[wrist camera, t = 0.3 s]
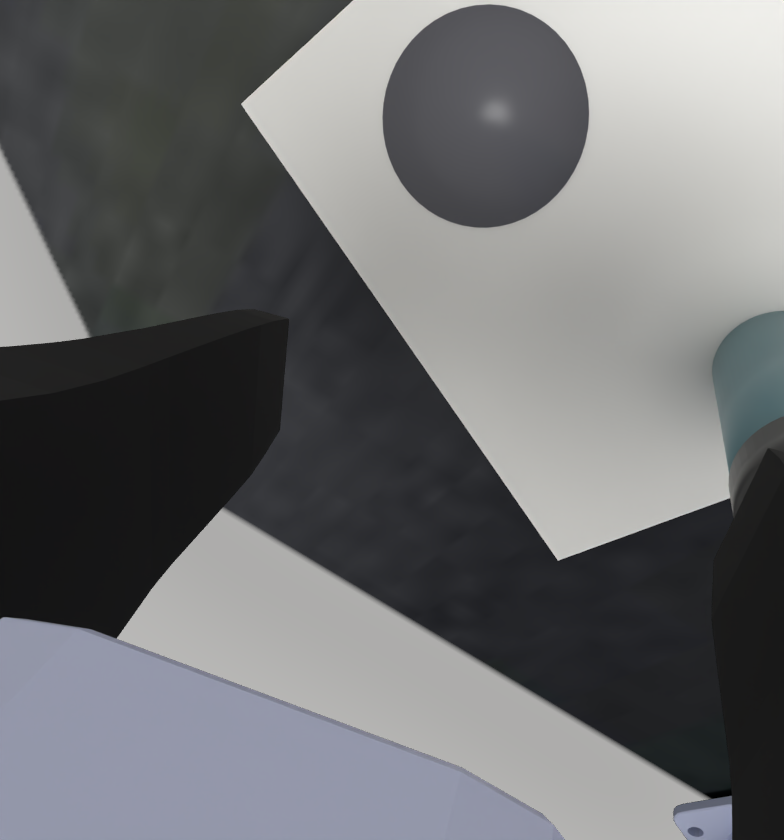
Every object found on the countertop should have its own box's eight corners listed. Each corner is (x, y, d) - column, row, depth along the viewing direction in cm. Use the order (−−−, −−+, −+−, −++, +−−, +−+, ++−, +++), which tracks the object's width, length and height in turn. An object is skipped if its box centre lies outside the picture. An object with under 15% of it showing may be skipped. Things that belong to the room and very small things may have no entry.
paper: (1006, 389, 18) (1012, 396, 17) (558, 554, 24) (557, 561, 23) (680, -297, 14) (680, -304, 14) (245, 103, 20) (239, 104, 20)
